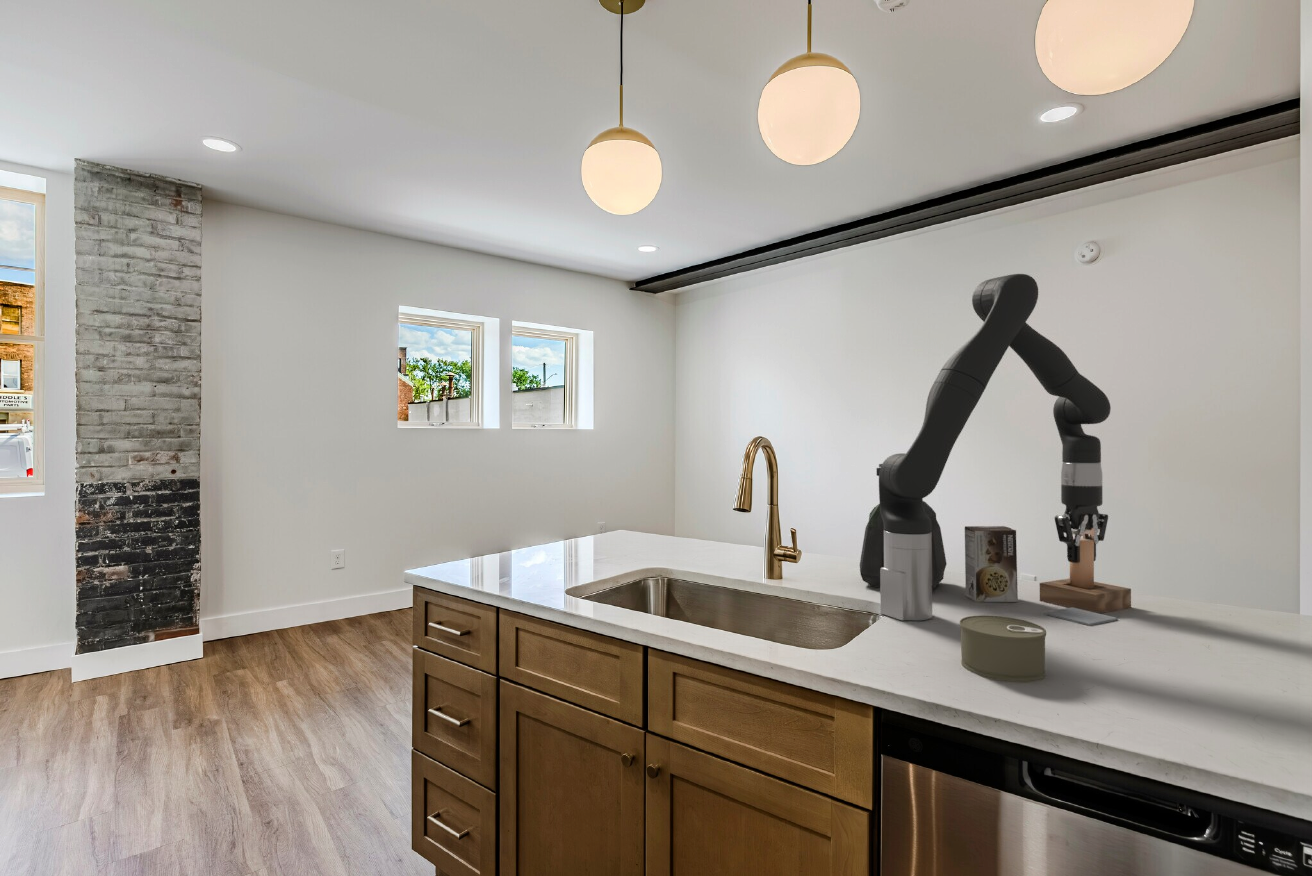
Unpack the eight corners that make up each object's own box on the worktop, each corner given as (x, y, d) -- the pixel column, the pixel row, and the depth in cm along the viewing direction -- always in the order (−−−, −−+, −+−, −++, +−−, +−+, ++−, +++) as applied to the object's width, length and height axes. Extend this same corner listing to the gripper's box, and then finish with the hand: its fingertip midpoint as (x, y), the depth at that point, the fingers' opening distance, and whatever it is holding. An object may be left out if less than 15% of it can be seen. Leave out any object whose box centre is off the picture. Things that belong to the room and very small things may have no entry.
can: (963, 651, 109) (963, 611, 109) (1045, 664, 103) (1045, 621, 103) (956, 674, 98) (956, 630, 98) (1047, 689, 92) (1047, 642, 92)
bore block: (1095, 614, 131) (1095, 594, 131) (1039, 600, 142) (1039, 582, 142) (1131, 607, 136) (1130, 588, 136) (1074, 595, 147) (1074, 577, 147)
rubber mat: (1089, 625, 123) (1089, 623, 123) (1044, 614, 131) (1043, 612, 131) (1117, 620, 126) (1117, 618, 126) (1072, 609, 135) (1072, 607, 135)
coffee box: (1005, 595, 147) (1004, 525, 147) (1018, 602, 140) (1017, 529, 140) (964, 595, 147) (963, 525, 148) (975, 602, 141) (974, 529, 141)
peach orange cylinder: (1084, 588, 136) (1084, 542, 136) (1065, 584, 140) (1064, 538, 140) (1098, 586, 138) (1098, 540, 138) (1079, 582, 142) (1078, 537, 142)
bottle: (857, 586, 156) (856, 464, 156) (875, 574, 170) (874, 462, 170) (936, 596, 146) (935, 466, 147) (948, 582, 160) (947, 463, 160)
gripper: (1075, 485, 133) (1075, 567, 133) (1121, 483, 138) (1121, 562, 138) (1042, 483, 140) (1042, 560, 140) (1087, 481, 145) (1087, 556, 145)
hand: (1081, 561), depth 139 cm, fingers closed on peach orange cylinder, 4 cm apart
